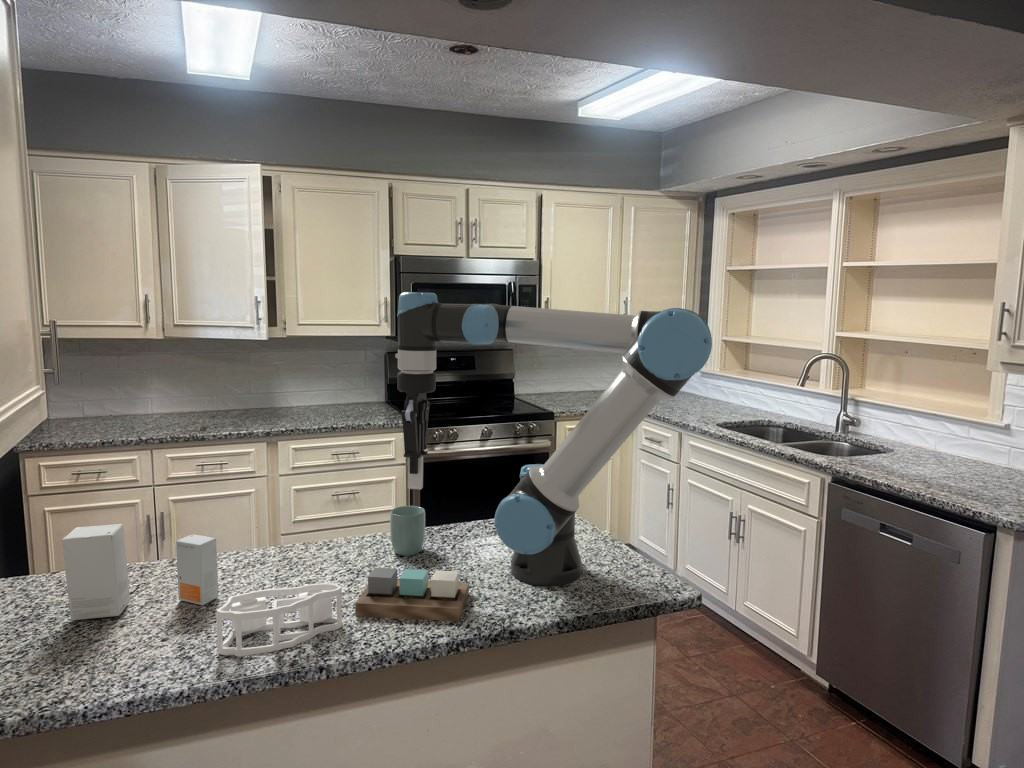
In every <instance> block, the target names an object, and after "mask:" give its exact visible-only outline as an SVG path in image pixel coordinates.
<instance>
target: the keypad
mask: <svg viewBox="0 0 1024 768" xmlns="http://www.w3.org/2000/svg"><path fill="white" fill-rule="evenodd" d="M469 591H470V590H469V583H468V582H459V588H458V591H457V593H456V596H455V598H453V597H434V596H431V581H429V580H428V587H427V589H426V591H425V593H424V595H423V596H414V595H400V579H397V586H396V587H395V589H394V591H393V592H392V594H375V593H368V585H367V586H366V588H365V589H364V591H363V592H362V593H361V594H360V595H359V597H358V598H357V600H356V602H355V605H354V606H355V614H354V615H355V617H365V618H366V617H367V618H381V619H382V618H384V619H405V620H408V619H409V620H423V621H426V620H427V621H445V622H446V621H450V622H460V621H461V617H462V615H463V612H464V609H465V606H466V603H467V600H468V598H469V594H470V593H469Z"/></svg>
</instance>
